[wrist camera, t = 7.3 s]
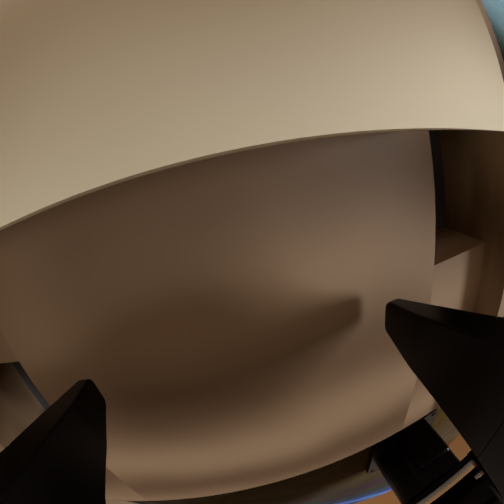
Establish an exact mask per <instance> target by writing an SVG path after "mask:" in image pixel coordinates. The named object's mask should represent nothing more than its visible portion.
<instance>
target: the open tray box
mask: <svg viewBox="0 0 504 504" xmlns="http://www.w3.org/2000/svg"><path fill="white" fill-rule="evenodd" d="M476 2H477V5H478V7H479V9H480V11H481V14H482V16H483V19H484V21H485V24H486V26H487V29H488V32H489V34H490V37H491V40H492V43H493V46H494V49H495V52H496V55H497V59H498V62H499V66H500V69H501V73H502V77H503V81H504V61H503V58H502V54H501V51H500V48H499V45H498V42H497V39H496V36H495V33H494V31H493V28H492V25H491V23H490V20H489V18H488V16H487V13H486V11H485V9H484V6H483V4H482V2H481V0H476ZM398 298H399V299H404V300H410V301H415V302H420V303H426V304H431V305H436V306H442V307H447V308H453V309H458V310H464V311H469V312H475V313H481V314H486V315H492V316H496V317H503V316H504V131H484V130H425V131H404V132H387V133H372V134H360V135H349V136H340V137H331V138H323V139H315V140H308V141H300V142H294V143H287V144H281V145H275V146H269V147H264V148H258V149H253V150H248V151H243V152H238V153H233V154H228V155H223V156H219V157H214V158H210V159H206V160H202V161H197V162H193V163H189V164H185V165H181V166H178V167H174V168H170V169H166V170H163V171H159V172H156V173H152V174H149V175H145V176H142V177H139V178H135V179H132V180H129V181H126V182H122V183H119V184H116V185H113V186H110V187H107V188H104V189H101V190H98V191H96V192H93V193H90V194H87V195H84V196H82V197H79V198H76V199H74V200H71V201H68V202H66V203H63V204H61V205H58V206H56V207H53V208H51V209H48V210H46V211H43V212H41V213H39V214H36V215H34V216H32V217H29V218H27V219H25V220H23V221H20V222H18V223H16V224H14V225H12V226H10V227H7V228H5V229H3V230H1V231H0V451H2V450H3V449H5V448H6V447H7V446H8V445H9V444H10V443H11V442H12V441H13V440H14V439H15V438H16V437H17V436H18V435H19V434H21V433H22V432H23V431H24V430H25V429H26V428H27V427H28V426H29V425H30V424H31V423H32V422H33V421H35V420H36V419H37V418H38V417H39V416H40V415H41V414H42V413H43V412H44V411H45V410H46V409H48V408H49V407H50V406H51V405H52V404H53V403H54V402H55V401H56V400H57V399H59V398H60V397H61V396H62V395H63V394H64V393H65V392H66V391H67V390H68V389H70V388H71V387H72V386H73V385H74V384H75V383H76V382H77V381H79V380H83V379H91V380H92V381H93V382H94V383H95V385H96V386H97V388H98V389H99V391H100V392H101V394H102V395H103V397H104V399H105V402H106V431H107V456H106V487H105V500H118V501H159V500H176V499H187V498H197V497H205V496H212V495H218V494H224V493H230V492H235V491H240V490H245V489H250V488H254V487H258V486H262V485H266V484H270V483H274V482H278V481H281V480H285V479H288V478H291V477H294V476H298V475H301V474H304V473H307V472H310V471H312V470H315V469H318V468H321V467H323V466H326V465H329V464H331V463H334V462H336V461H339V460H341V459H343V458H346V457H348V456H350V455H353V454H355V453H357V452H359V451H362V450H364V449H366V448H368V447H370V446H372V445H374V444H376V443H378V442H380V441H382V440H384V439H386V438H388V437H390V436H391V435H393V434H395V433H397V432H399V431H400V430H402V429H404V428H406V427H407V426H409V425H411V424H412V423H414V422H416V421H417V420H419V419H421V418H422V417H424V416H425V415H427V414H428V413H430V412H431V411H433V410H434V409H436V408H437V407H439V405H438V403H437V402H436V401H435V399H434V398H433V397H432V395H431V394H430V393H429V392H428V390H427V389H426V388H425V386H424V385H423V384H422V383H421V381H420V380H419V379H418V378H417V376H416V375H415V374H414V373H413V371H412V370H411V369H410V367H409V366H408V364H407V363H406V362H405V360H404V358H403V357H402V355H401V354H400V352H399V350H398V349H397V347H396V346H395V344H394V343H393V341H392V340H391V338H390V337H389V335H388V334H387V332H386V329H385V309H386V304H387V303H388V302H390V301H392V300H395V299H398Z"/></svg>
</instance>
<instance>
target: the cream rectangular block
mask: <svg viewBox="0 0 504 504" xmlns="http://www.w3.org/2000/svg"><path fill="white" fill-rule="evenodd" d="M425 130H484V131H504V81H503V77H502V73H501V69H500V66H499V62H498V59H497V55H496V52H495V49H494V46H493V43H492V40H491V37H490V34H489V32H488V29H487V26H486V24H485V21H484V19H483V16H482V14H481V11H480V9H479V7H478V5H477V2H476V0H0V231H1V230H3V229H5V228H7V227H10V226H12V225H14V224H16V223H18V222H20V221H23V220H25V219H27V218H29V217H32V216H34V215H36V214H39V213H41V212H43V211H46V210H48V209H51V208H53V207H56V206H58V205H61V204H63V203H66V202H68V201H71V200H74V199H76V198H79V197H82V196H84V195H87V194H90V193H93V192H96V191H98V190H101V189H104V188H107V187H110V186H113V185H116V184H119V183H122V182H126V181H129V180H132V179H135V178H139V177H142V176H145V175H149V174H152V173H156V172H159V171H163V170H166V169H170V168H174V167H178V166H181V165H185V164H189V163H193V162H197V161H202V160H206V159H210V158H214V157H219V156H223V155H228V154H233V153H238V152H243V151H248V150H253V149H258V148H264V147H269V146H275V145H281V144H287V143H294V142H300V141H308V140H315V139H323V138H331V137H340V136H349V135H360V134H372V133H387V132H404V131H425Z"/></svg>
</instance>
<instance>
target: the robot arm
mask: <svg viewBox="0 0 504 504" xmlns="http://www.w3.org/2000/svg"><path fill="white" fill-rule="evenodd" d="M385 329H386V332H387V334H388V335H389V337H390V338H391V340H392V341H393V343H394V344H395V346H396V347H397V349H398V350H399V352H400V354H401V355H402V357H403V358H404V360H405V362H406V363H407V364H408V366H409V367H410V369H411V370H412V371H413V373H414V374H415V375H416V376H417V378H418V379H419V380H420V381H421V383H422V384H423V385H424V386H425V388H426V389H427V390H428V392H429V393H430V394H431V395H432V397H433V398H434V399H435V401H436V402H437V403H438V405H439V406H440V407H441V409H442V410H443V411H444V413H445V414H446V415H447V417H448V418H449V419H450V421H451V422H452V423H453V425H454V426H455V427H456V429H457V430H458V431H459V433H460V434H461V436H462V437H463V438H464V440H465V441H466V443H467V444H468V445H469V447H470V448H471V451H470V452H469V453H468V454H467V456H466V457H465V458H464V459H463V460H461V461H459V459H458V458H457V457H456V456H455V455H454V453H453V452H452V451H451V450H450V449H449V446H448V445H447V444H446V443H445V442H444V440H443V439H442V438H441V437H440V436H439V434H438V433H437V432H436V431H435V430H434V429H433V427H432V426H431V425H432V423H433V421H434V419H435V416H436V414H437V412H438V410H437V409H434V410H433V411H431V412H430V413H428V414H427V415H425V416H424V417H422V418H421V419H419V420H417V421H416V422H414V423H412V424H411V425H409V426H407V427H406V428H404V429H402V430H400V431H399V432H397V433H395V434H393V435H391V436H390V437H388V438H386V439H384V440H382V441H380V442H378V443H376V444H374V445H373V447H372V451H371V454H370V458H369V462H368V465H367V469H366V472H367V473H368V474H370V473H373V472H375V471H377V470H380V471H381V473H382V474H383V476H384V478H385V479H386V481H387V482H388V484H389V486H390V487H391V489H392V490H393V492H394V493H395V495H396V497H397V498H398V500H399V501H400V503H401V504H424V503H426V502H427V501H428V500H430V499H431V498H432V497H434V496H435V495H437V494H438V493H439V492H441V491H442V490H443V489H444V488H446V487H447V486H448V485H449V484H451V483H452V482H453V481H454V480H455V479H457V478H458V477H459V476H460V475H461V474H462V473H464V472H465V471H466V470H467V469H468V468H469V467H470V466H471V465H472V464H473V465H474V467H475V468H474V469H473V470H472V471H471V472H469V473H468V474H467V475H466V476H465V477H463V479H461V480H460V481H459V482H458V483H456V484H455V485H454V486H453V487H452V488H450V489H449V490H448V491H446V492H445V493H444V494H443V495H441V496H440V497H439V498H437V499H436V500H435V501H433V502H432V503H430V504H504V317H496V316H492V315H486V314H481V313H475V312H469V311H464V310H458V309H453V308H447V307H442V306H436V305H431V304H426V303H420V302H415V301H410V300H404V299H399V298H398V299H395V300H392V301H390V302H388V303H387V304H386V309H385ZM106 456H107V431H106V402H105V399H104V397H103V395H102V394H101V392H100V391H99V389H98V388H97V386H96V385H95V383H94V382H93V381H92V380H91V379H83V380H79V381H77V382H76V383H75V384H74V385H73V386H72V387H71V388H70V389H68V390H67V391H66V392H65V393H64V394H63V395H62V396H61V397H60V398H59V399H57V400H56V401H55V402H54V403H53V404H52V405H51V406H50V407H49V408H48V409H46V410H45V411H44V412H43V413H42V414H41V415H40V416H39V417H38V418H37V419H36V420H35V421H33V422H32V423H31V424H30V425H29V426H28V427H27V428H26V429H25V430H24V431H23V432H22V433H21V434H19V435H18V436H17V437H16V438H15V439H14V440H13V441H12V442H11V443H10V444H9V445H8V446H7V447H6V448H5V449H3V450H2V451H1V452H0V504H106V502H105V501H106V500H105V487H106ZM480 475H482V476H481V477H480V478H478V477H479V476H480ZM477 478H478V479H477ZM476 479H477V480H476Z"/></svg>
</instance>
